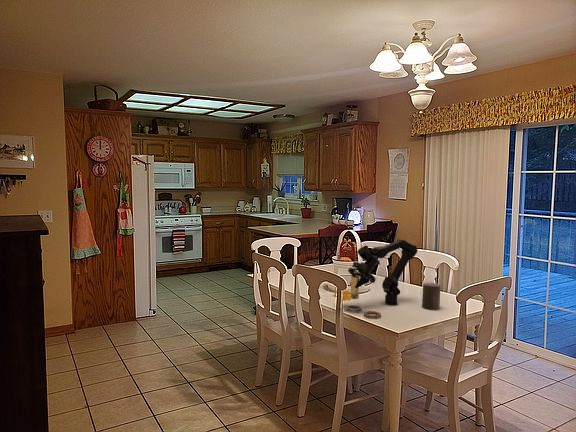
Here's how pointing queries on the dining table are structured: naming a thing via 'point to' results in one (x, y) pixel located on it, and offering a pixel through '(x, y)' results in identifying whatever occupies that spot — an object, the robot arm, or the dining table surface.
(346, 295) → the pipe clamp
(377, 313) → the stand collar
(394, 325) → the dining table surface
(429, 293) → the pillar candle
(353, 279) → the sleeve
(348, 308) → the hub
